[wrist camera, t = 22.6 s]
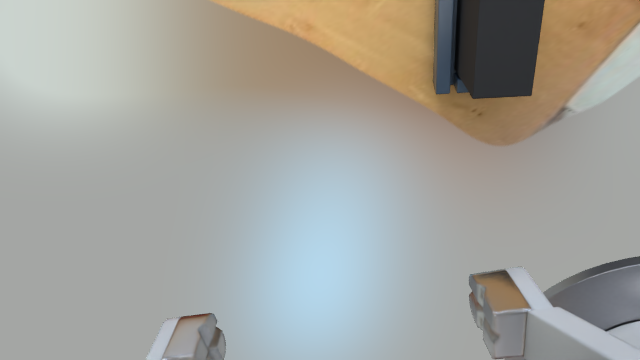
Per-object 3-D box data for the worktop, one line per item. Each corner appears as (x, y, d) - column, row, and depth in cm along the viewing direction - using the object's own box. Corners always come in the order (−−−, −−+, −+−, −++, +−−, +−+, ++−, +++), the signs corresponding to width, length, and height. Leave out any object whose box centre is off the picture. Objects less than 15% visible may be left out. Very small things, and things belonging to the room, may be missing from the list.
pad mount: (515, 77, 30) (529, 89, 26) (432, 83, 31) (436, 94, 28) (529, -42, 26) (548, -48, 22) (435, -30, 28) (439, -34, 24)
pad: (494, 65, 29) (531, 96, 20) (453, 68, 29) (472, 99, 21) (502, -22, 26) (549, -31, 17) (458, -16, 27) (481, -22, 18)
